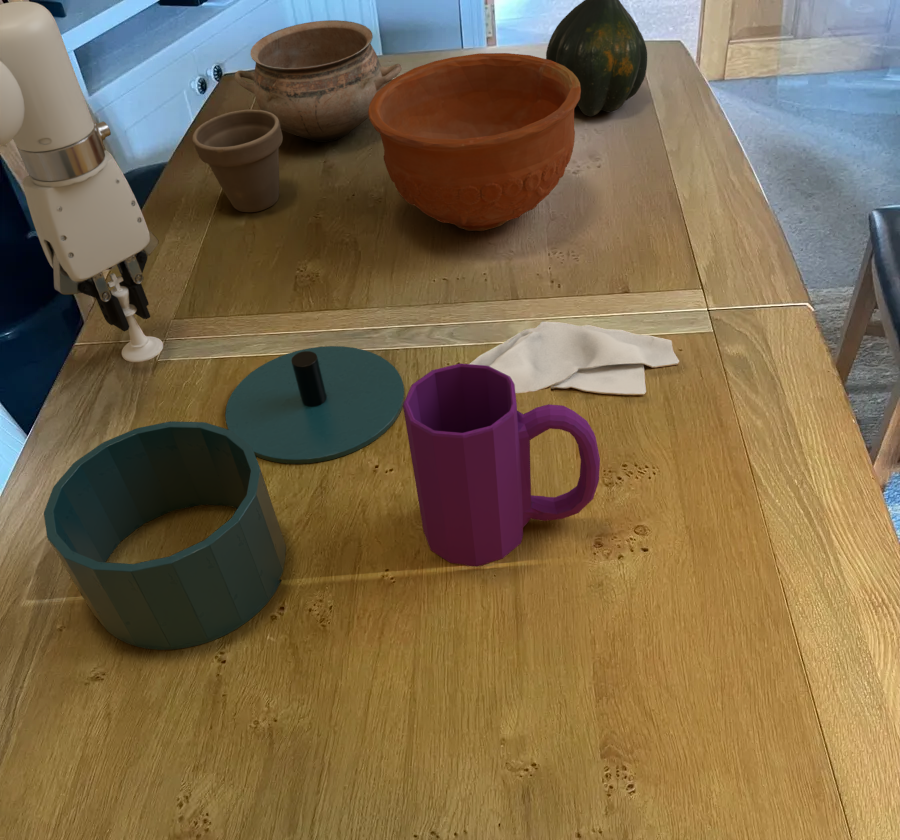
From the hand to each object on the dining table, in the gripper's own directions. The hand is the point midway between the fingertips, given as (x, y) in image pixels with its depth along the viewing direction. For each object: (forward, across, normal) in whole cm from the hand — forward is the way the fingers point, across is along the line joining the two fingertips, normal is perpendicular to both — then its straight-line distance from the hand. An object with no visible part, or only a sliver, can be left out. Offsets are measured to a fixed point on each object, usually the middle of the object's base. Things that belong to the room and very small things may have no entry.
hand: (130, 319), depth 104 cm
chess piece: (+5, 0, 0) cm, 5 cm away
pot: (+5, +17, +32) cm, 37 cm away
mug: (+5, -5, +52) cm, 52 cm away
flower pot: (+5, -30, -18) cm, 35 cm away
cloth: (+5, -26, +39) cm, 47 cm away
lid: (+4, -6, +24) cm, 25 cm away
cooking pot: (+5, -51, -26) cm, 57 cm away
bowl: (+5, -45, +11) cm, 47 cm away
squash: (+5, -79, +3) cm, 79 cm away
